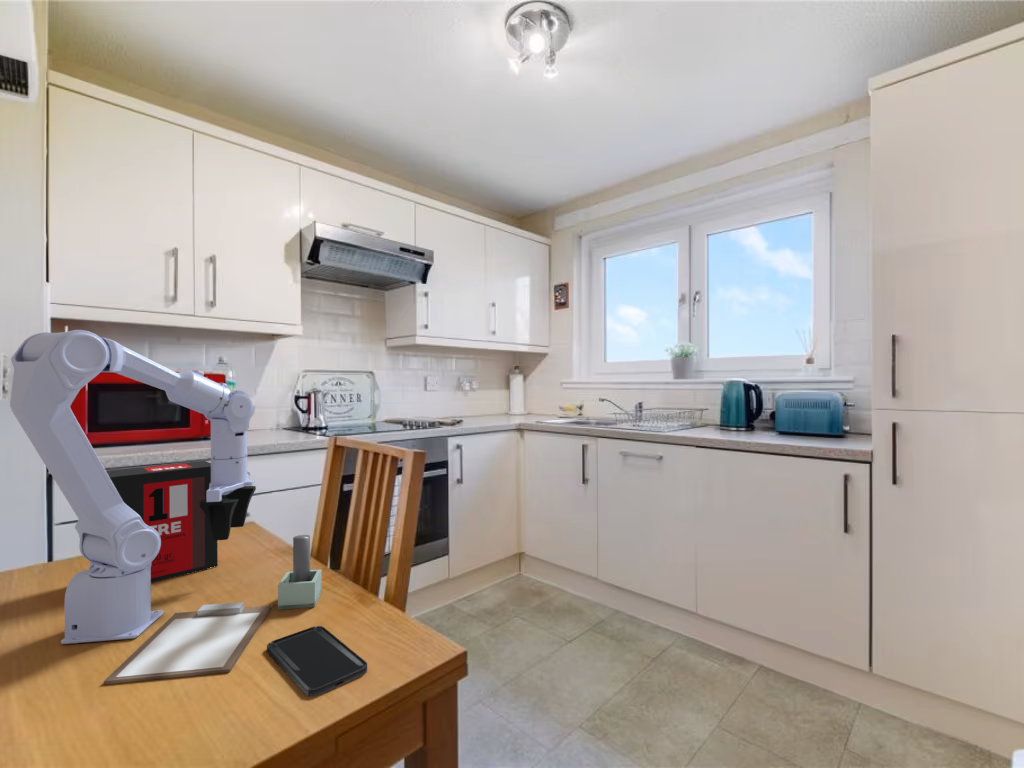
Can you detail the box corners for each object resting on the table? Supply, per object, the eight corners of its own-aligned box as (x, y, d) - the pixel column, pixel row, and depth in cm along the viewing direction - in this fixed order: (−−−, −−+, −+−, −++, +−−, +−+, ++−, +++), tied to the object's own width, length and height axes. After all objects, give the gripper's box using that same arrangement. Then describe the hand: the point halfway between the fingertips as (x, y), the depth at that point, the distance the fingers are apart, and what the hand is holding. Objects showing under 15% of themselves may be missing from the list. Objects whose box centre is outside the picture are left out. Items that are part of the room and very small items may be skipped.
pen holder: (277, 609, 80) (277, 584, 80) (287, 594, 85) (287, 571, 85) (314, 606, 81) (314, 582, 81) (321, 592, 86) (321, 569, 86)
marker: (291, 600, 82) (291, 539, 82) (295, 594, 84) (295, 535, 84) (308, 599, 82) (308, 539, 82) (311, 593, 85) (311, 534, 85)
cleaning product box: (110, 592, 86) (110, 477, 86) (103, 578, 93) (102, 470, 93) (217, 566, 98) (217, 465, 98) (204, 555, 105) (204, 460, 104)
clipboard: (103, 684, 60) (103, 672, 60) (175, 615, 78) (175, 606, 78) (229, 672, 63) (229, 661, 63) (271, 608, 80) (271, 599, 80)
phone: (320, 624, 74) (370, 665, 63) (320, 631, 74) (370, 674, 63) (263, 644, 68) (308, 692, 57) (263, 652, 68) (308, 702, 57)
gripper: (239, 463, 83) (239, 544, 83) (265, 451, 97) (265, 520, 97) (192, 464, 82) (192, 547, 82) (226, 451, 96) (226, 522, 96)
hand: (229, 532), depth 89 cm, fingers open, 7 cm apart
